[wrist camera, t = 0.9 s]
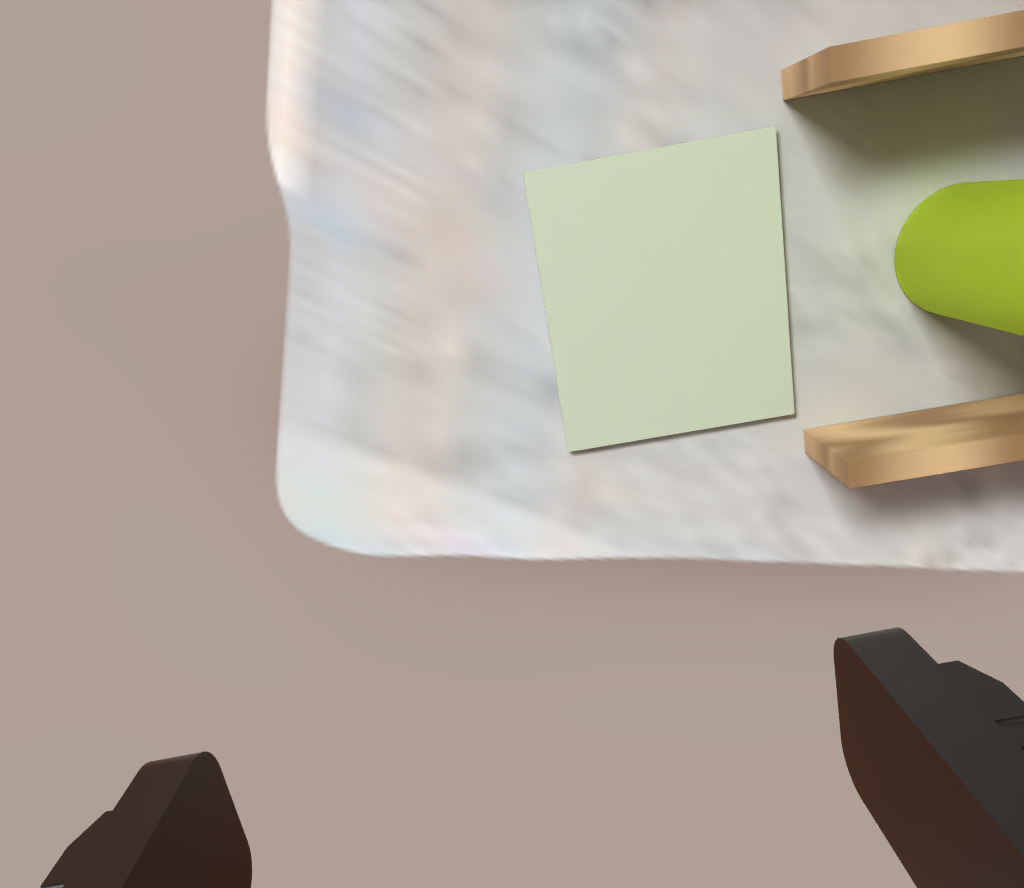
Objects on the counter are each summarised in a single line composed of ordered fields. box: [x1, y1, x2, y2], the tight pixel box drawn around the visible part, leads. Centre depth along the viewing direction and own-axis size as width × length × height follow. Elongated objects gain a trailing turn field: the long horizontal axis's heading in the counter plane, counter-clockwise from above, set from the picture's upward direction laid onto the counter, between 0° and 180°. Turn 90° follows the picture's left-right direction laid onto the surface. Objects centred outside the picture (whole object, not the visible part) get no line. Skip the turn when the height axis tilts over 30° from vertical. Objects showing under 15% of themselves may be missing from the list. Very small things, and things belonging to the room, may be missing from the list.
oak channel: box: [782, 10, 1024, 489], centre depth 32 cm, size 14×17×5 cm
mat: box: [523, 126, 795, 452], centre depth 35 cm, size 11×13×1 cm
